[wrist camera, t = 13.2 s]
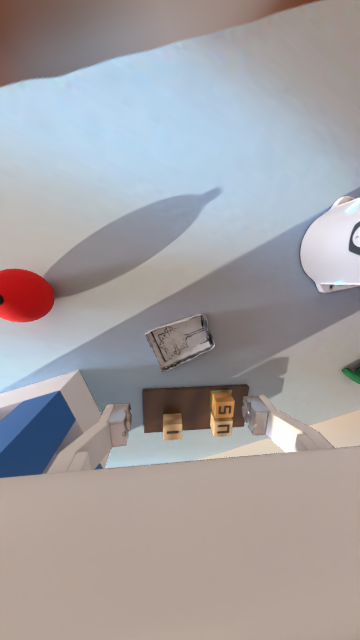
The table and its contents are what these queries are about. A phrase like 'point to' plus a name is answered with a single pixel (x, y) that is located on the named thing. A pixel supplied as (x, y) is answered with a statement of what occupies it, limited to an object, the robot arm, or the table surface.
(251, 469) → the robot arm
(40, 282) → the ornament
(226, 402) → the letter s tile
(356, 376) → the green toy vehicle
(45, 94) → the table surface
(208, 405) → the letter board
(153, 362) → the table surface
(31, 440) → the toy block
